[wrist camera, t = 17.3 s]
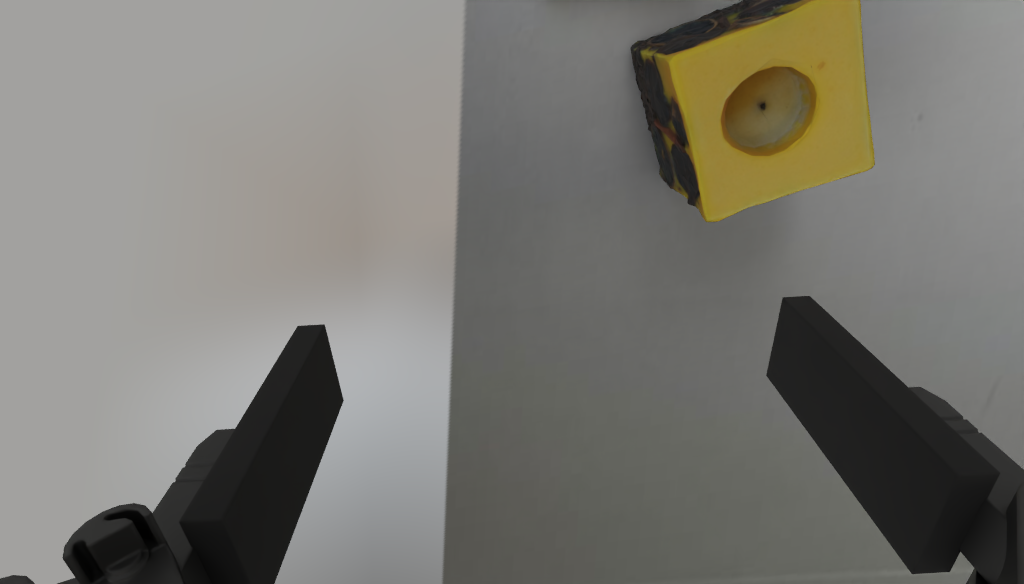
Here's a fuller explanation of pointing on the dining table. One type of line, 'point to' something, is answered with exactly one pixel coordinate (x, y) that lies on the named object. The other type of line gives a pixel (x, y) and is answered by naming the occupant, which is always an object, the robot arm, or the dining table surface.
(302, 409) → the robot arm
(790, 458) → the dining table surface
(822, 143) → the candle
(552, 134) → the dining table surface
